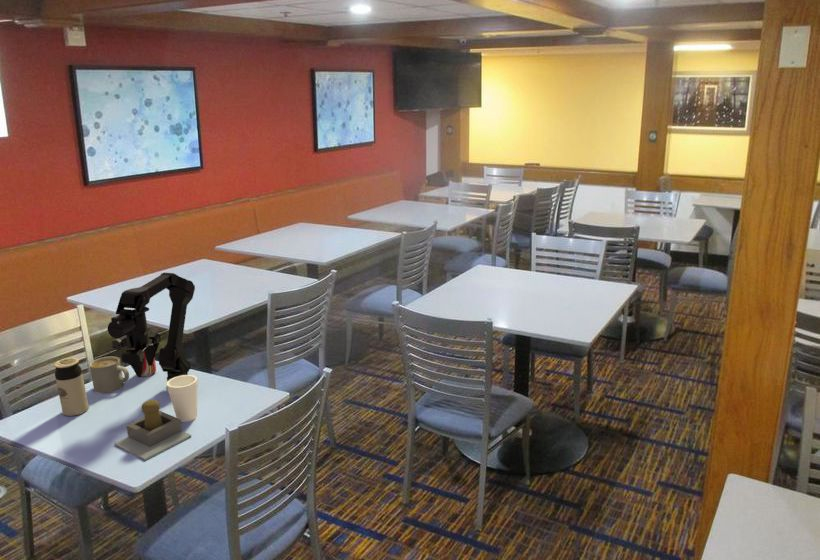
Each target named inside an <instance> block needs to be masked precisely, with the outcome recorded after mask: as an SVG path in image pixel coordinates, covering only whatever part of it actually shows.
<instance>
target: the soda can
mask: <svg viewBox="0 0 820 560" xmlns="http://www.w3.org/2000/svg"><path fill="white" fill-rule="evenodd" d="M132 350H135V349H133V348H132ZM143 352H144V351H143ZM144 358H145V361H144V366H143V372H142V376H141V377H143V376H145V377H150V376H152V375H154V374H155V373H156V372H157V365H156V364H157V363H156V358H154V361H153V364H152V366H149V365H148V362H147V359H146V355H145V352H144ZM153 373H154V374H153ZM149 375H150V376H149Z"/></svg>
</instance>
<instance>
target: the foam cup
mask: <svg viewBox="0 0 820 560" xmlns="http://www.w3.org/2000/svg"><path fill="white" fill-rule="evenodd" d="M198 387H199V384H198V377H197V376H196V375H193V374H188V375H181V376H177V377H174V378H172V379H170V380H169V381H168V382H166V389H167V392H168V395H169V398H170V401H171V404H172V407H173V411H174V414H175V417H176V418H178V419H180V420H181V423H187V422H188V423H189V422H191V421H194V420H195V419H196V418H197V417H198Z"/></svg>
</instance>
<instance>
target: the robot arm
mask: <svg viewBox="0 0 820 560" xmlns="http://www.w3.org/2000/svg"><path fill="white" fill-rule="evenodd" d="M164 290H168V297H169V299H170V301H171V305H172V306H171V311H170V312H171V313H170V319H169V327H168V333H167V340H166V341H167V342H166V345H165V346H164V347H160V349H159V353H158V354H159V356H158V359H157V360H158V365H159V366H160V368H161V370H162V372H163V373H164V372H166V375H167V376H166V381H167V382H168V381H169V380H170V379H172V378H174V377H177V376H181V375H189V371H190V370H191V369H192V362H190V361H189V360H187V359H186V351H185V350H184V348H183V338H184V331H185V324H186V315H187V309H188V308H187V307H188V305H189V303H190V302H191V301H192V300H193V299H194V298H193V297H194V294H195V290H196V286H195V284H194V283H193V281H192V280H189V279H186V278H185V277H181V276H179V275H178V274H175V273H174V272H161V274H160V275H158V276H157V277H155V278H153V279H152V280H150V281H148V282H147V283H145V284H143V285H141V286H139V287H133V288H129V289H126V290H124V291H122V292H121V295H120V298H119V301H118V305H117V307H116V310H115V315H116V316H112V317H111V318H110V320H111V321H110V322H109V323H108V325H107V328H106V329H107V332H108V335H109V336H111V337H112V338H113V340H112V341H111V347H112V348H111V349H113V350H116V351H117V352H118V351H121V350H122V349H124V348H127V349H126V350H125V351H124V352H123V353H122V354H121V355H120V363H124V364H128V365H130V366H131V369H133V372H134V373H135V375H136V377H137V378H141V377H143V376H142V372H143V366H144V361H145V358H144V352H145V355H146V359H147V362H148V365H149V366H152V364H153V361H154V358H155V356H156V353H157V352H158V348H159V346H160V342H161V341H162V340H161V335H160V334H159V333H157V332H156V333H153V332H151V333H150V331H151V327H148V322H147V315H146V312H148V311H150V308H149V306H148V307H147V305H148V304H149V303H151V302H150V300H151V299H152V297H154V296H156V295H157V294H159V293H161V292H162V291H164ZM133 349H135V350H133ZM143 351H144V352H143ZM155 359H156V358H155ZM167 382H166V383H167Z"/></svg>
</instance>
